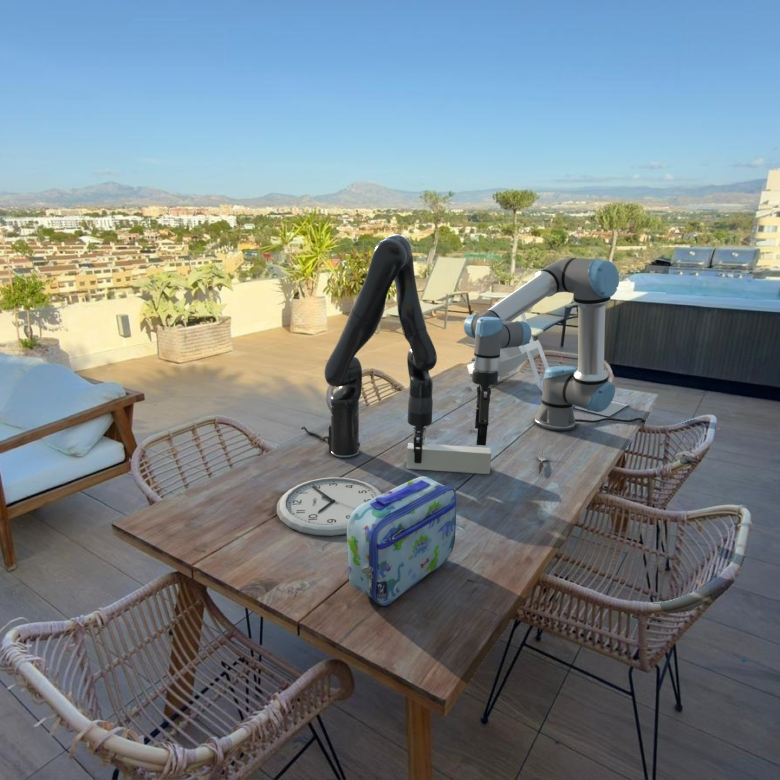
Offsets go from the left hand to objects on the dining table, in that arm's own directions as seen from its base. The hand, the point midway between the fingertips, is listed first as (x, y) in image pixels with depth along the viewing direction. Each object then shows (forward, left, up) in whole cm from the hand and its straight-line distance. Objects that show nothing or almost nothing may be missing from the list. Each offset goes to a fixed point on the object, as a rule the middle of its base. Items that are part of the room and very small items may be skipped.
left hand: (418, 459), depth 166 cm
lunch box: (+23, -51, -3) cm, 56 cm away
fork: (+33, +23, -3) cm, 40 cm away
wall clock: (-8, -34, -3) cm, 35 cm away
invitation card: (+39, +95, -3) cm, 103 cm away
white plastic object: (-5, +102, -3) cm, 102 cm away
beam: (+9, +4, -3) cm, 10 cm away
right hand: (+17, +8, +9) cm, 21 cm away
